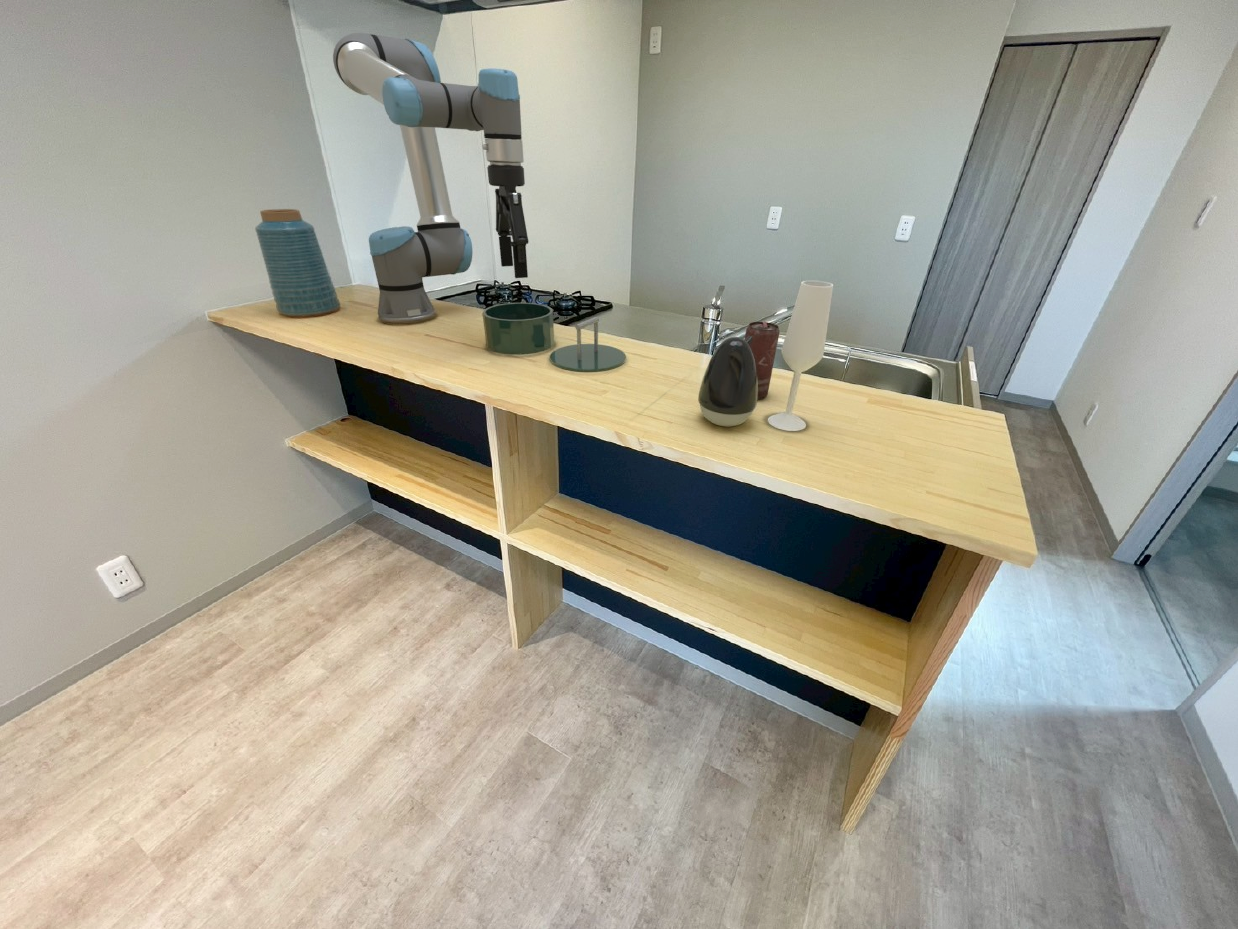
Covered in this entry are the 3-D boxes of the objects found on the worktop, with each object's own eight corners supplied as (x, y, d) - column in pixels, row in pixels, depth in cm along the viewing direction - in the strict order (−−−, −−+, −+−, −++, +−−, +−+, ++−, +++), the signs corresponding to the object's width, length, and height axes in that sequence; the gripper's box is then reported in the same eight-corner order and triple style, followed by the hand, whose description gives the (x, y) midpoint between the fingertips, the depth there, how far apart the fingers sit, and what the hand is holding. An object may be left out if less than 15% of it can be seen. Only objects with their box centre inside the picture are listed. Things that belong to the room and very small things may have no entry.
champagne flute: (764, 413, 92) (789, 278, 79) (800, 414, 91) (831, 279, 79) (772, 430, 86) (801, 287, 73) (811, 431, 86) (846, 289, 73)
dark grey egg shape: (764, 419, 89) (780, 337, 81) (733, 439, 83) (747, 351, 75) (716, 403, 95) (727, 324, 87) (684, 420, 89) (692, 337, 81)
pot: (472, 348, 120) (467, 313, 115) (517, 332, 132) (514, 299, 128) (525, 361, 113) (522, 324, 108) (567, 342, 125) (566, 308, 121)
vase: (332, 317, 140) (302, 213, 126) (269, 319, 137) (231, 213, 123) (347, 303, 154) (322, 208, 140) (290, 305, 151) (259, 207, 137)
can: (764, 388, 102) (777, 320, 94) (769, 401, 96) (783, 330, 89) (734, 386, 102) (745, 319, 95) (738, 399, 97) (749, 328, 90)
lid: (534, 364, 111) (531, 323, 106) (578, 344, 124) (577, 306, 119) (600, 380, 104) (600, 337, 99) (639, 357, 117) (640, 317, 112)
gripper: (476, 162, 110) (487, 262, 122) (500, 165, 91) (510, 284, 103) (509, 163, 113) (516, 261, 124) (539, 166, 94) (545, 281, 105)
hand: (514, 271), depth 114 cm, fingers open, 13 cm apart
